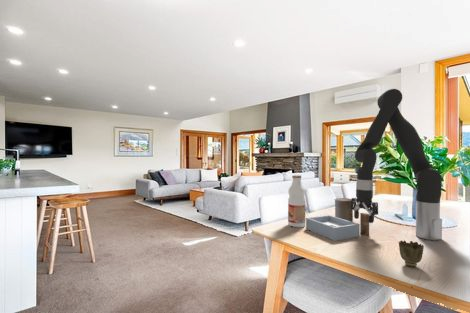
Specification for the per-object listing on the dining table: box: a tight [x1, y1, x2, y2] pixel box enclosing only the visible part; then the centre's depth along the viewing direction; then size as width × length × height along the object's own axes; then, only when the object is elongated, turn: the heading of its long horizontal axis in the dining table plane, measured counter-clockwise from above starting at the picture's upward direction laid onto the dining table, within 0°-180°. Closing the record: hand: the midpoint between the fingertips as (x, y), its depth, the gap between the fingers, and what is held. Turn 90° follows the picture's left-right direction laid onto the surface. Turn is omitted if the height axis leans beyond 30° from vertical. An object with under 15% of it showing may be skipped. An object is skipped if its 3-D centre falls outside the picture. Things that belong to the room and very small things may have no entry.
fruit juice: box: [287, 174, 306, 228], centre depth 144 cm, size 9×9×28 cm
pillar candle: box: [334, 197, 354, 222], centre depth 150 cm, size 10×10×15 cm
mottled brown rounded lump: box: [398, 239, 425, 268], centre depth 92 cm, size 8×7×8 cm
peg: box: [359, 212, 370, 236], centre depth 129 cm, size 4×4×10 cm
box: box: [305, 214, 361, 242], centre depth 131 cm, size 20×16×6 cm
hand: (363, 220), depth 130 cm, fingers open, 8 cm apart
